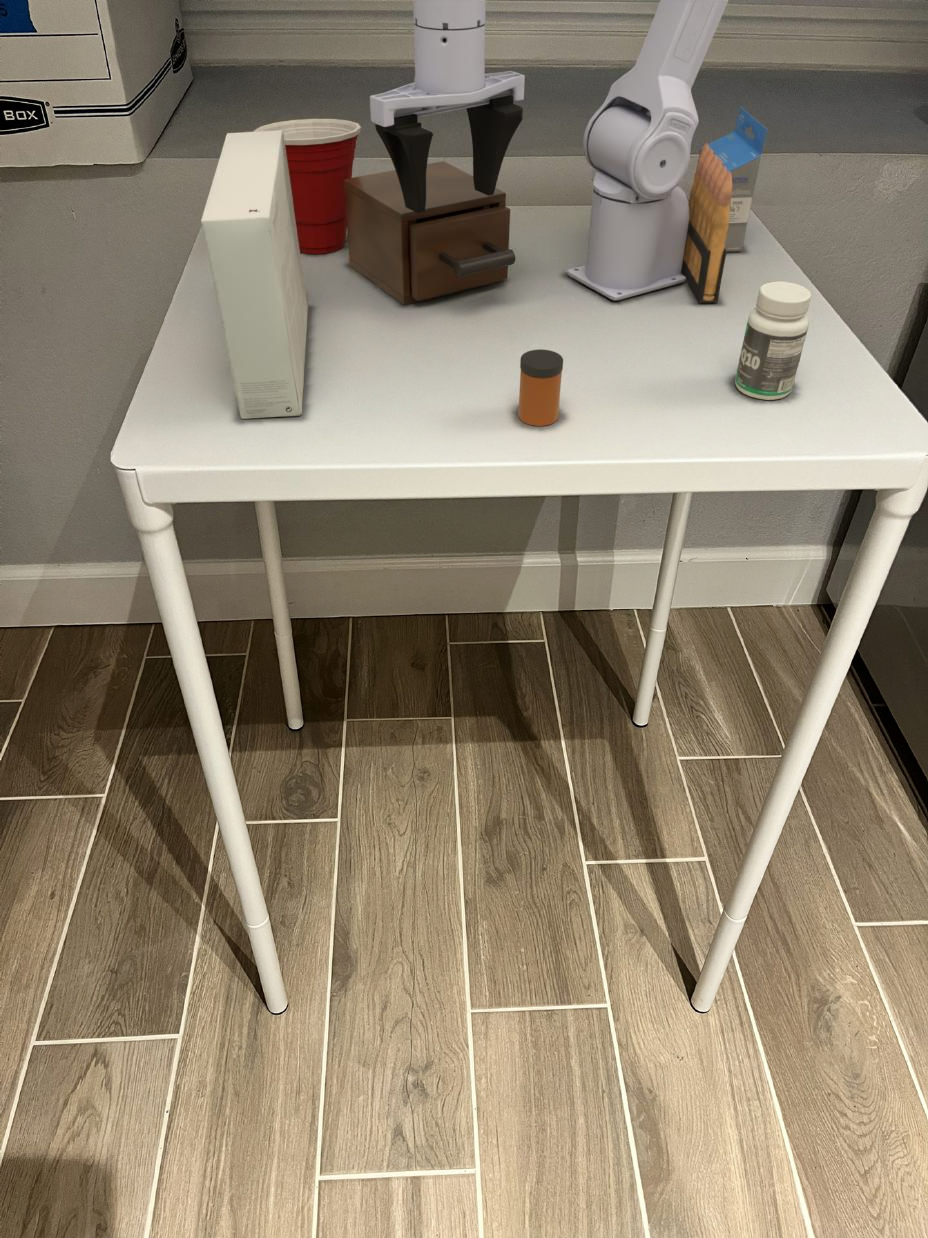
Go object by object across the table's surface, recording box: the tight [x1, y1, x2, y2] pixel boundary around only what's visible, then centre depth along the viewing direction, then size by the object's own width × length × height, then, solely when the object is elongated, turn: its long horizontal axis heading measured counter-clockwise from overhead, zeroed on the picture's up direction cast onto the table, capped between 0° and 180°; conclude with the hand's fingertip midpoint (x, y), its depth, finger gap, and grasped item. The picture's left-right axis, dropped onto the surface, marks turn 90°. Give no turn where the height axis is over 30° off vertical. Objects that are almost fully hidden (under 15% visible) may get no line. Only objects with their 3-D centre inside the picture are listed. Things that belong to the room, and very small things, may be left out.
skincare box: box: [200, 130, 309, 420], centre depth 79 cm, size 21×5×16 cm, turn 5°
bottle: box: [517, 348, 564, 427], centre depth 76 cm, size 3×3×5 cm
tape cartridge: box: [697, 106, 769, 254], centre depth 103 cm, size 9×4×12 cm, turn 6°
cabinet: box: [344, 160, 507, 306], centre depth 96 cm, size 12×12×9 cm
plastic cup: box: [253, 118, 362, 255], centre depth 101 cm, size 11×11×12 cm
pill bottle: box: [734, 281, 812, 401], centre depth 79 cm, size 5×5×8 cm
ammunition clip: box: [681, 142, 732, 304], centre depth 94 cm, size 11×2×12 cm, turn 3°
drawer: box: [408, 205, 517, 302], centre depth 94 cm, size 15×10×7 cm
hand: (450, 200), depth 86 cm, fingers open, 7 cm apart
